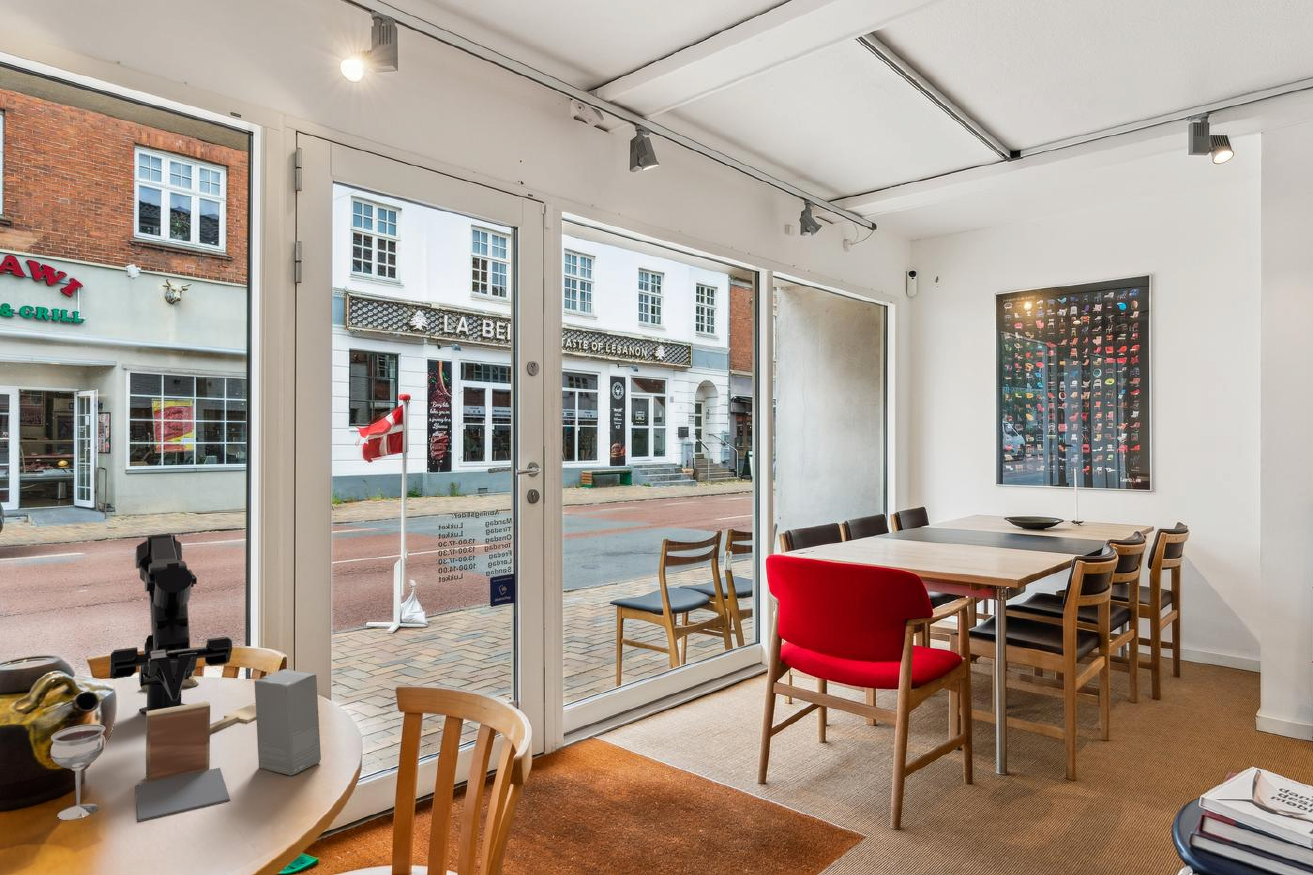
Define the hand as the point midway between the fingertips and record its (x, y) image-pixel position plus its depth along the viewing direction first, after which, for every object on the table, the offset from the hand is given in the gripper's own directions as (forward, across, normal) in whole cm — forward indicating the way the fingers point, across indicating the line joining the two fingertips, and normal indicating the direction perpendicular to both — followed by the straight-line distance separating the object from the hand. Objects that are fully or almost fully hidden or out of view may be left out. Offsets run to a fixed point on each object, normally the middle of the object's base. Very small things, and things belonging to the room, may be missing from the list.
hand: (174, 699), depth 139 cm
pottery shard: (-23, -3, -38) cm, 44 cm away
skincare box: (+18, -16, +4) cm, 24 cm away
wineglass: (+18, +13, +3) cm, 23 cm away
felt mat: (+19, 0, +5) cm, 20 cm away
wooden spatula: (-1, -11, -15) cm, 19 cm away
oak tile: (+13, 0, -1) cm, 13 cm away
